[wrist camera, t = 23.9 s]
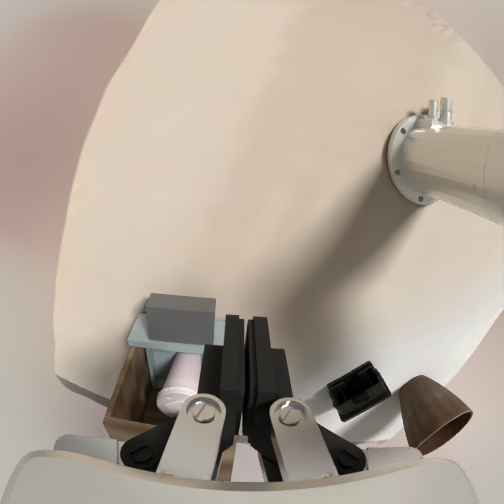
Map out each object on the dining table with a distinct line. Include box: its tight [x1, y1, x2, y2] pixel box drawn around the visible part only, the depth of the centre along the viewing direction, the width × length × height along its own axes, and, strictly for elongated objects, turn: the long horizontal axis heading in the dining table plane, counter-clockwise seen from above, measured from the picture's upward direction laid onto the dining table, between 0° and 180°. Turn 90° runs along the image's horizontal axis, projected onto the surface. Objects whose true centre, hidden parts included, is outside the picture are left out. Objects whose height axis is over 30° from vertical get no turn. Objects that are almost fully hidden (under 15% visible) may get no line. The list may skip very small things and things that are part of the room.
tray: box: [127, 293, 225, 389], centre depth 35 cm, size 18×14×6 cm
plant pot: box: [399, 375, 473, 456], centre depth 42 cm, size 15×15×16 cm
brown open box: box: [103, 346, 237, 481], centre depth 31 cm, size 12×13×19 cm
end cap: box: [327, 361, 391, 422], centre depth 43 cm, size 10×7×7 cm
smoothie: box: [157, 352, 202, 418], centre depth 32 cm, size 6×6×14 cm
